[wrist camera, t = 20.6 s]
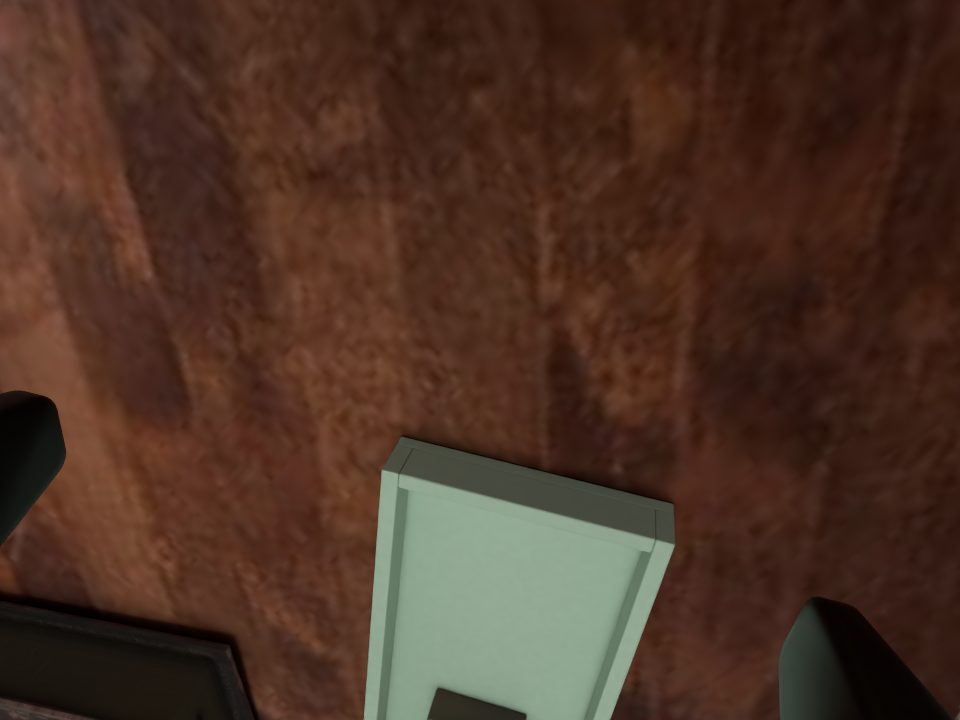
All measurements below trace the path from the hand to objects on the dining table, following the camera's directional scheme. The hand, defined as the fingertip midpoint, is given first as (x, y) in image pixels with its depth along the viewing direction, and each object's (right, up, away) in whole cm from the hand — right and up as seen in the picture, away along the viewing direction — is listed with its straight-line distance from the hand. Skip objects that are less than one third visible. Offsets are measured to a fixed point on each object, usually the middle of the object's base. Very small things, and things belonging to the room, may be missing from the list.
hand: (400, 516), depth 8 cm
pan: (+2, -9, +20) cm, 22 cm away
